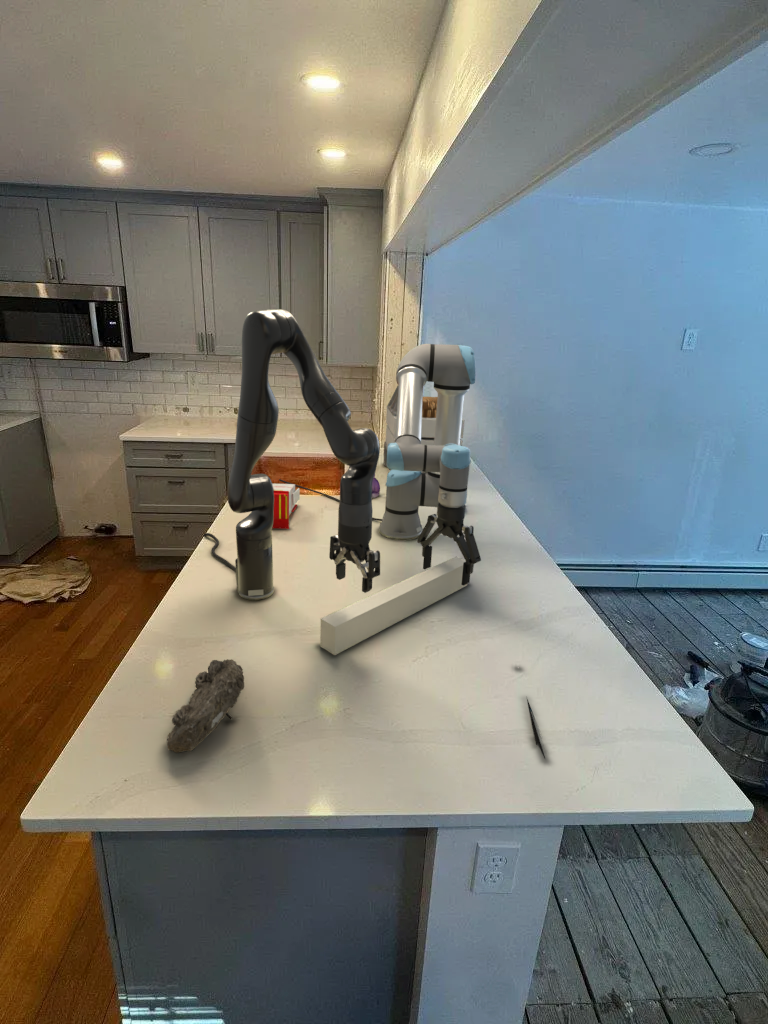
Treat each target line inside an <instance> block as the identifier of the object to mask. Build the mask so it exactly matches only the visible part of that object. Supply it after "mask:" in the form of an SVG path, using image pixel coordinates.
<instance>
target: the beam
mask: <svg viewBox="0 0 768 1024" xmlns="http://www.w3.org/2000/svg"><path fill="white" fill-rule="evenodd" d="M464 562H466V560H465V559H464V558H461V557H458V556H453V557H452V558H449V559H447V560H445V561H443V562H441V563H439V564H436V565H433V566H431V567H430V568H428V569H425V570H423V571H421V572H419V573H417V574H414V575H412V576H410V577H408V578H406V579H403V580H401V581H399V582H397V583H395V584H392V585H391V586H388V587H386V588H384V589H382V590H379V591H377V592H375V593H373V594H371V595H369V596H367V597H365V598H362V599H360V600H358V601H355V602H353V603H351V604H348V605H347V606H345V607H342V608H340V609H338V610H336V611H334V612H331V613H330V614H327V615H324V616H323V617H320V622H319V623H320V629H319V630H320V632H319V634H320V636H319V637H320V638H319V639H320V640H319V646H320V648H322V649H323V650H325V651H327V652H328V653H330V654H331V655H333V656H336V655H338V654H340V653H342V652H344V651H345V650H346V651H347V649H349V648H351V647H354V646H355V645H357V644H359V643H361V642H363V641H365V640H367V639H368V638H371V637H372V636H374V635H376V634H378V633H379V632H381V631H384V630H385V629H387V628H389V627H392V626H393V625H395V624H397V623H399V622H401V621H402V620H405V619H406V618H409V617H410V616H412V615H414V614H416V613H417V612H420V611H421V610H423V609H426V608H427V607H430V606H431V605H433V604H435V603H437V602H439V601H440V600H443V599H444V598H446V597H448V596H450V595H452V594H453V593H455V592H457V591H459V590H461V589H463V588H465V587H467V586H468V585H469V583H468V584H466V585H464V586H463V585H461V584H462V573H463V563H464Z"/></svg>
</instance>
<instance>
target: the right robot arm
mask: <svg viewBox="0 0 768 1024" xmlns="http://www.w3.org/2000/svg"><path fill="white" fill-rule="evenodd" d="M476 369H477V368H476V356H475V351H474V349H473V347H471V346H469V345H463V344H462V345H461V344H443V343H442V344H441V343H439V344H438V343H435V344H434V343H421V344H418V345H416V346H413V348H411V349H410V350H409V351H407V353H405V355H404V356H403V357H402V358H401V360H400V361H399V364H398V366H397V368H396V374H395V381H396V384H397V386H398V385H399V389H398V403H397V418H396V432H395V443H389V444H388V448H387V466H386V467H387V469H389V471H388V473H387V475H386V482H385V486H386V488H385V489H386V490H385V504H384V505H385V507H384V508H385V509H384V513H383V515H382V518H376V517H372V521H378V522H379V526H378V533H379V534H380V535H381V536H382V537H385V538H387V539H389V540H395V541H410V540H415V539H416V542H417V543H418V544H421V547H422V548H421V549H422V550H421V555H422V557H423V560H422V561H423V562H422V570H423V571H425V570H428V569H430V568H432V555H433V545H432V543H433V542H435V541H436V540H437V539H438V538H439V537H440V536H444V537H447V538H449V539H452V540H453V541H454V542H455V543H456V545H457V547H458V549H459V551H460V552H461V554H462V557H463V559H464V560H466V562H464V563H463V573H462V584H461V585H463V586H464V585H466V584H468V585H469V583H470V581H471V575H472V574H473V572H474V566H475V564H477V563H479V562H481V561H482V558H481V555H480V550H479V548H478V544H477V540H476V537H475V534H474V531H475V530H474V526H473V525H465V523H464V521H465V517H466V509H467V506H466V504H467V501H468V500H467V499H468V486H469V485H468V484H469V474H470V466H471V465H470V464H471V461H472V460H471V449H470V448H469V447H467V446H464V445H462V446H460V439H461V438H460V436H461V425H462V419H463V414H464V413H463V412H464V403H465V395H466V394H467V393H468V392H469V391H470V388H471V385H474V384H475V383H476V375H477V374H476V372H477V371H476ZM427 382H429V383H433V389H434V390H435V391H436V393H437V397H438V398H437V411H436V424H435V438H434V445H421V429H422V404H423V397H424V387H425V385H426V384H427ZM390 469H392V470H391V471H390ZM278 481H279V482H281V483H283V484H293V483H292V482H289V481H286V480H284V479H281V478H279V479H278ZM295 488H300V489H303V490H305V491H309V492H313V493H316V494H318V495H321V496H325V497H327V498H330V499H332V500H335V501H337V502H338V503H340V498H336V497H334V496H331V495H329V494H327V493H324V492H322V491H321V492H320V491H318V490H314V489H312V488H308V487H306V486H302V485H298V484H295ZM419 507H425V508H426V507H427V508H430V507H431V508H437V509H436V513H433V514H429V515H428V516H427V520H426V523H425V525H424V526H423V525H422V524H421V518H420V515H419ZM435 525H437V527H436V529H434V530H433V532H432V529H433V528H434V526H435ZM430 533H431V534H430Z"/></svg>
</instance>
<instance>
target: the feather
mask: <svg viewBox="0 0 768 1024" xmlns="http://www.w3.org/2000/svg"><path fill="white" fill-rule="evenodd" d="M517 669H519V666H518V667H517ZM526 701H527V708H528V711H529V718H530V723H531V728H532V732H533V736H534V741H535V745H536V746H537V745H538V747H539V749H540V751H541V754H542V756H543V758H544V759H546V757H545V756H546V755H545V753H544V749H543V746H542V743H541V740H540V739H541V738H542V735H541V730H540V727H539V726H538V723H537V720H536V718H535V714H534V711H533V710H532V707H531V704H530V702H529V699H528V697H527V696H526ZM539 736H540V737H539ZM546 752H548V750H546ZM548 753H549V752H548Z"/></svg>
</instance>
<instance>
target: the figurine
mask: <svg viewBox="0 0 768 1024" xmlns="http://www.w3.org/2000/svg"><path fill="white" fill-rule="evenodd" d="M380 491H381V484H380V481H379V480H378V478H376V474H375V475H374V478H373V481H372V499H373V498H377V497H379V496H380Z"/></svg>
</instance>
